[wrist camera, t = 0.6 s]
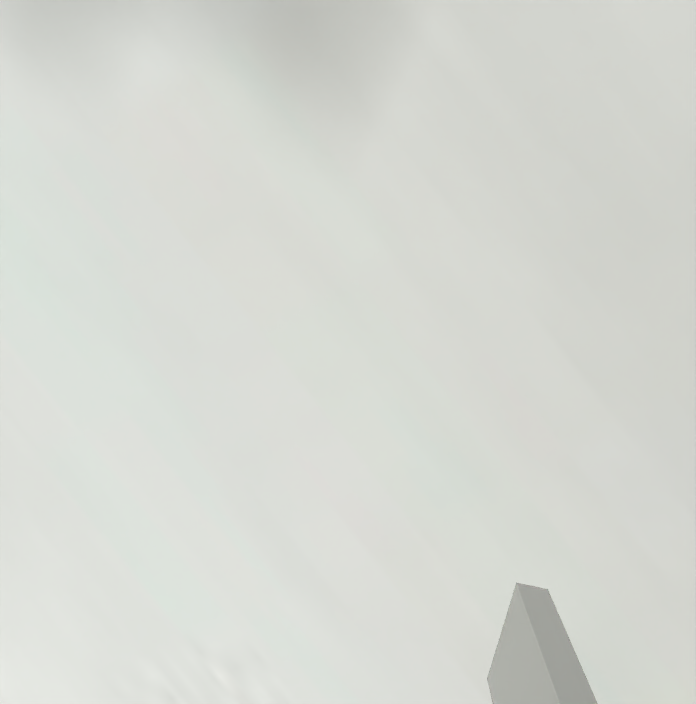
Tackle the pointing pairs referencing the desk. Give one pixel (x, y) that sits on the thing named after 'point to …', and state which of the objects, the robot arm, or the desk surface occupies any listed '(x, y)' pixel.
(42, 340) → the desk surface
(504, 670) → the robot arm
